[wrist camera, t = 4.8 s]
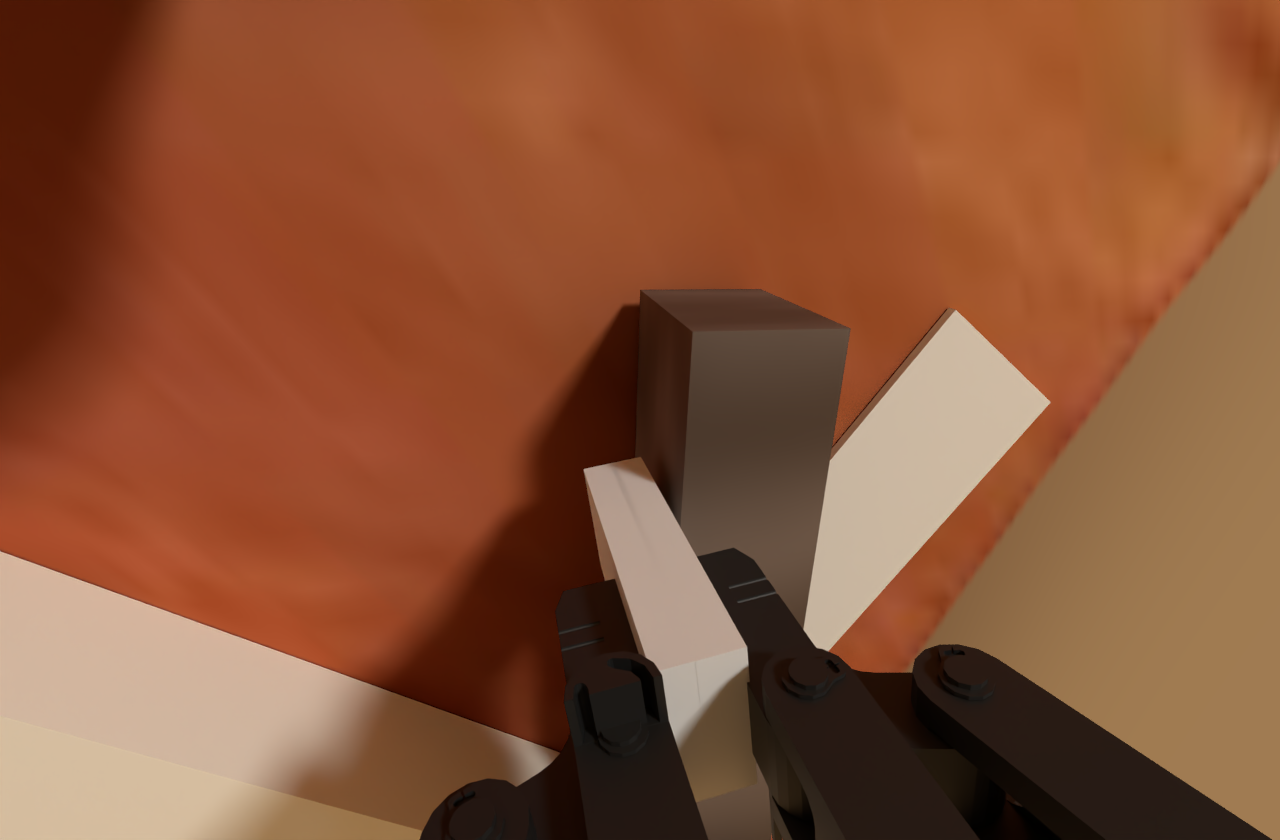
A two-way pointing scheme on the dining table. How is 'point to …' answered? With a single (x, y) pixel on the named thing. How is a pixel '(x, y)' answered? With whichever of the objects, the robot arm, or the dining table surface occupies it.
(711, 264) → the dining table surface
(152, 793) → the cream flat square box
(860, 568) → the mat
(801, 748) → the robot arm
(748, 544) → the dark grey block
